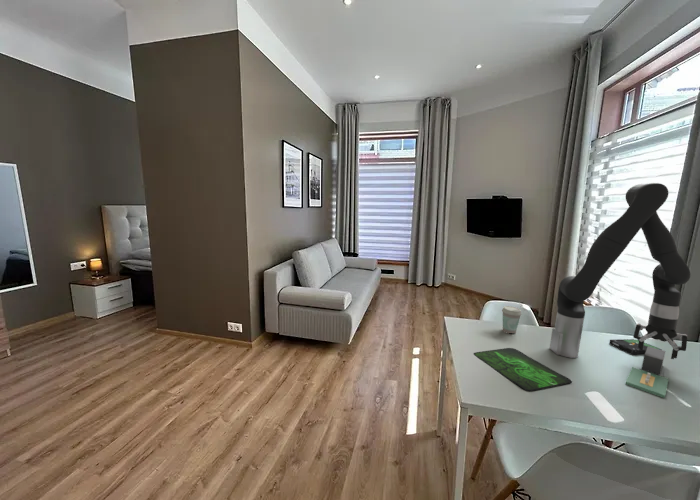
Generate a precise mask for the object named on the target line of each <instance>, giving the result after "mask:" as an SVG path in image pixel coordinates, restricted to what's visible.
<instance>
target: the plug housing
mask: <svg viewBox="0 0 700 500" xmlns="http://www.w3.org/2000/svg"><path fill="white" fill-rule="evenodd" d="M659 349H660V348H659ZM659 349H656V348H652V347H647V350H646V352H645V354H644V355H643V361H642V365H641V370H643V371H646V372H650V373H653V374H656V375H659V376H661V371H662V367H663V364H664V359H665V355H666V351H665V350H663V349H662V350H659Z"/></svg>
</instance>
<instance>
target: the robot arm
mask: <svg viewBox="0 0 700 500" xmlns="http://www.w3.org/2000/svg"><path fill="white" fill-rule="evenodd" d="M668 197H669V189H668V187H667V186H666V185H665V184H663V183H659V182H647V183H639V184H635V185H632V186H631V187H630V188H629V189H628V190H627V191H626V193H625V201H626V203H627V204H628V208H627V209H626V210H625V212H624V213H623V214H622V215H621V216H620V217H619V218H617V219H616V220H615V221H614V222H612V223H611V224H610V225H609V226H607V227H606V228H605V229H603V230H602V232H601V233H599V234H598V236H597V238H596V239H595V240H594V242H593V243H592V245H591V246H590V248H589V251H588V254H587V256H586V259H585V262H584V264H583V266H582V267H581V269H580V270H579V271H578V273H577V274H576V275H575V276H574V275H569V276H566V277H564V278H562V280H561V281H560V282H559V286H558V292H557V300H556V306H557V312H556V317H555V324H554V325H555V326H554V327H553V328H552V329H551V334H550V335H551V336H550V343H549V349H550V350H551V351H552V352H553V353H554V354H555V355H557V356H562V357H567V358H571V359H574V358H575V359H576V358H578V357H579V352H580V347H581V340H582V335H583V334H582V333H583V328H584V327H583V326H584V321H585V316H586V310H585V306H584V301H587V300H588V299H589V298H590V297H591V296H592V294H593V293H594V291H595V289H596V288H597V286H598V285H599V283H600V281H601V279H602V278H603V277H604V275H605V274H606V273H607V272H608V270H609V269H610V268H611V266H613V265H614V263H615V262H616V260H617V259H618V258H619V257H620V256H621V255H622V253H623V252H624V251H625V249H627V247H628V246H629V244H630V242H631V241H632V240H633V239H634V238H635V236H636V235H638V232H639V231H640V230H642V233H643V235H644V237H645V241H646V244H647V247H648V250H649V252H650V255H651V257H652V259H653V260H655V261H657V262H658V263H659V264H657V265H656V266H655V267H654V268H653V270H652V273H651V274H652V276H651V278H652V284H653V289H654V293H653V298H652V303H651V305H650V310H649V315H648V321H647V325H643V324H641V323H637V324H636V326H635V328H634V333H633V339H634V340H639V344H638V348H639V349H640V350H641V351H642V350H643V346H644V343H645V342H646V340H649V339H650V338H652V340H657V341H661V342H667V343H668V345H670V346H671V348H672V351H671V356H670V359H671V360H674V359H677V358H678V353H679V351H683V352H685V351H687V343H688V334H686V333H678V332H677V326H678V325H677V324H678V321H679V318H680V304H681V299H682V294H681V291H679V290H678V289H677V288H676V286H680V285H684V284H686V283H688V282H689V281H690V278H691V271H690V268H689V266H688V265H687V263H686V262H685V259H683V257H682V256H681V255H680V253H679V250H678V248H677V245H676V242H675V239H674V237H673V234H672V233H671V231H670V230H669V229H668V227H667V226H666V225H665V224H664V222H663V221H662V220H661V217H660V215H659V214H658V212H657V211H658V210H659V209H660V208H661V207H662V206H663V205H664V204H665V203H666V201H667V200H668ZM675 285H676V286H675ZM643 330H645V331H646V332H647V333H645V334H644V335H642V336H640V331H643ZM676 337H678V339H679V341H681V345H678V344H677V343H676V341H675V340H674V338H676Z"/></svg>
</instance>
